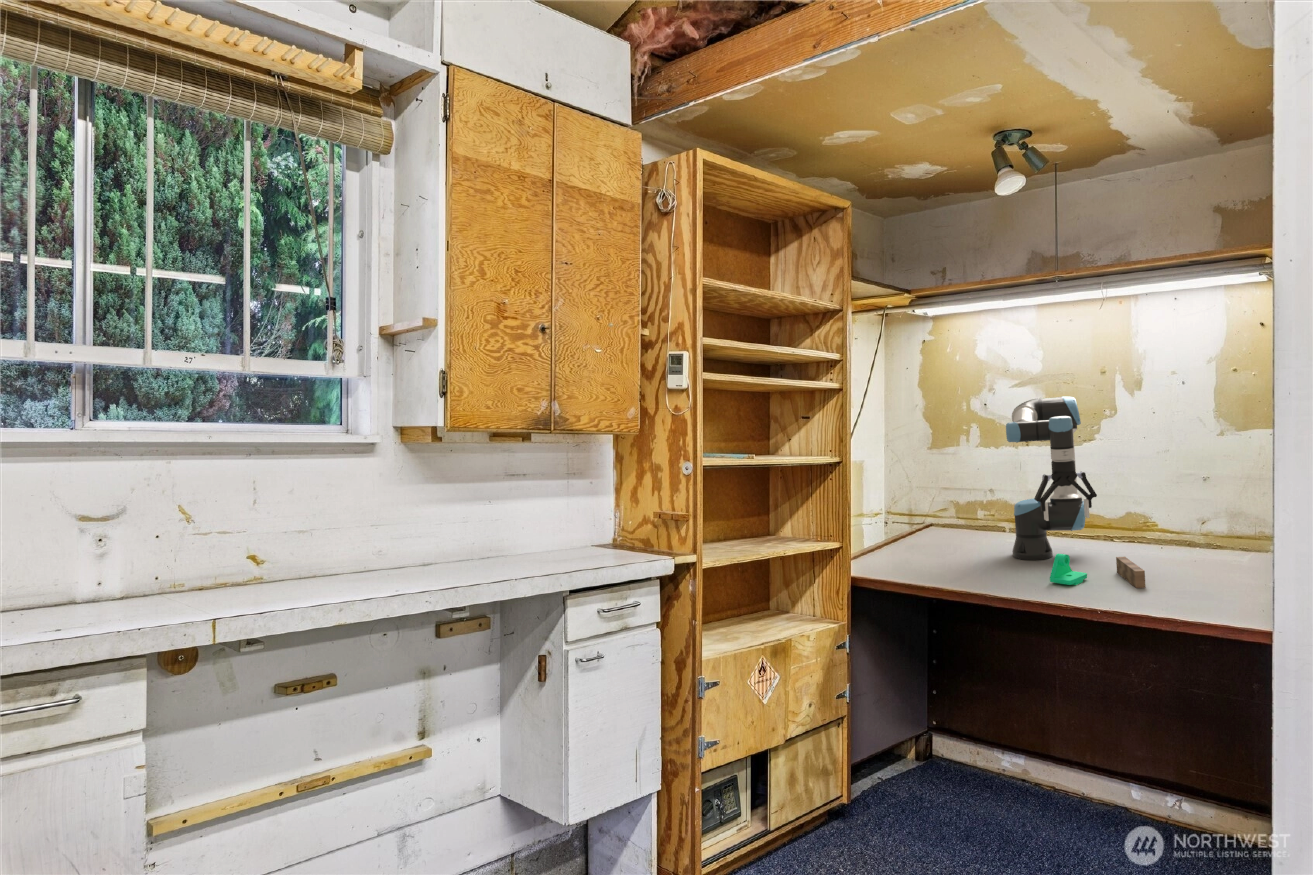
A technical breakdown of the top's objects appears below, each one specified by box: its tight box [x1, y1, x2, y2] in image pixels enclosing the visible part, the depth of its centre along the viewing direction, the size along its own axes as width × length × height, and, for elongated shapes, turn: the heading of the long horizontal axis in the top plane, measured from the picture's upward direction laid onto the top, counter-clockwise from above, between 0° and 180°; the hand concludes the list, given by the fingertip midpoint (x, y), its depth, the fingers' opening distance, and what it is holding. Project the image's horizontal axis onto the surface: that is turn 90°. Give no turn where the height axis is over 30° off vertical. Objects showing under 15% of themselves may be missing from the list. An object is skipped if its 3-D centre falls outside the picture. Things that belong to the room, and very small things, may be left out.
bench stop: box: [1115, 556, 1146, 589], centre depth 298 cm, size 20×3×6 cm, turn 168°
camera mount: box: [1049, 553, 1088, 586], centre depth 303 cm, size 12×8×10 cm, turn 123°
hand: (1066, 518), depth 297 cm, fingers open, 13 cm apart
